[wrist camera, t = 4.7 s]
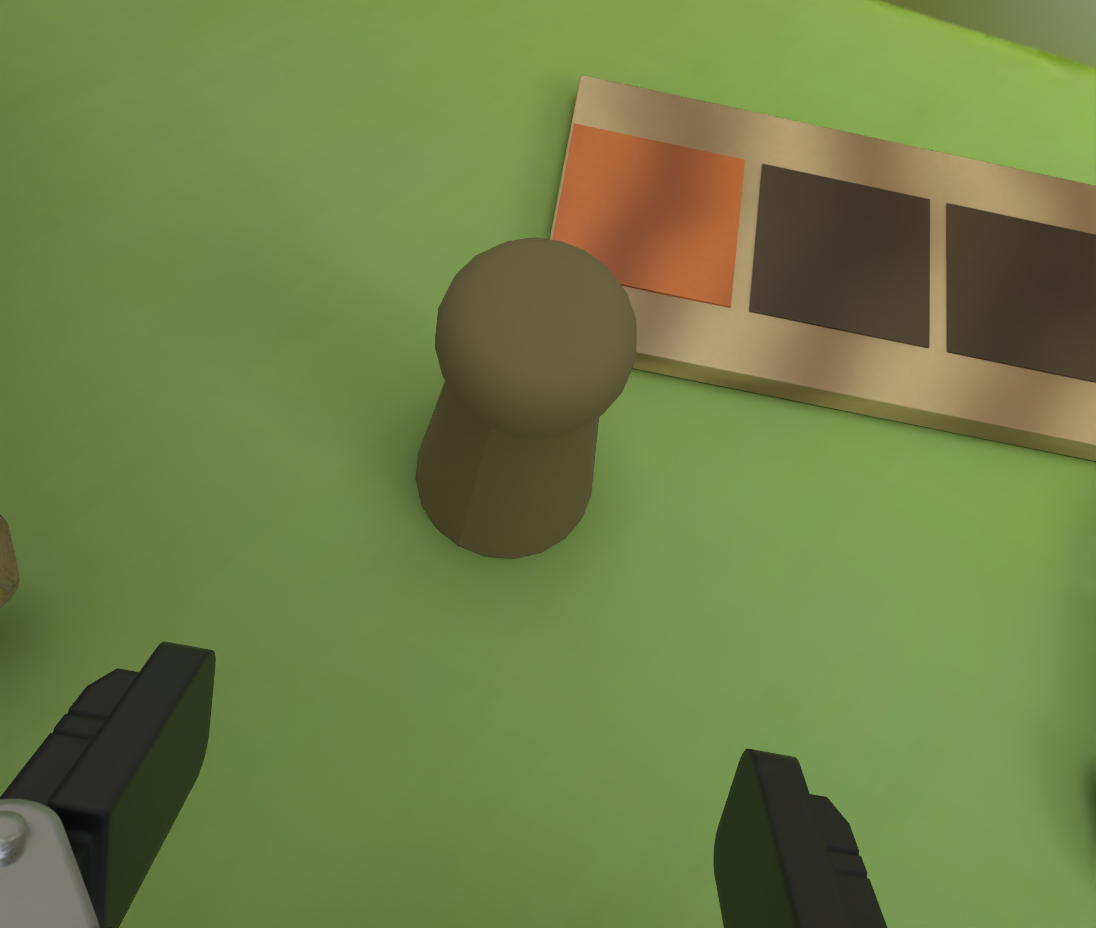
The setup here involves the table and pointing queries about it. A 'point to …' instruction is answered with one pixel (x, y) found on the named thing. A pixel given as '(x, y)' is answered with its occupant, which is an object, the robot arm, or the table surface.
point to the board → (840, 266)
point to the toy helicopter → (7, 565)
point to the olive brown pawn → (522, 394)
